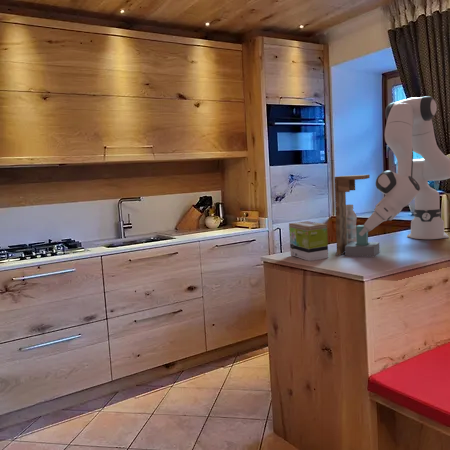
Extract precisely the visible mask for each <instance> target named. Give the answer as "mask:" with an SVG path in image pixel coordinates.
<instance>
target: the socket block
mask: <svg viewBox="0 0 450 450" xmlns="http://www.w3.org/2000/svg"><path fill="white" fill-rule="evenodd" d="M380 251H381V250H380V242H379V241H368V245H357V242H350V243H349V244H347V245H346V246H345V252H344V256H351V257H372V256H374V257H376V255H378V254H379V253H380Z"/></svg>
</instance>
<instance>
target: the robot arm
mask: <svg viewBox="0 0 450 450" xmlns="http://www.w3.org/2000/svg"><path fill="white" fill-rule="evenodd" d="M384 111H385V112H384V114H385V115H384V116H385V117H384V118H385V119H386V124H385V128H384V141H385V143H386V145H387V146H388V148H389V149H390V150H391V151H392V153H393V155H394V156H395V158H396V161H397V172H394V171H392V170H389V169H388V170H385V171H382V172H381V173H379V174H378V176H377V177H376V180H375V186H376V188H377V190H378V191H379V192H380V193H382V194H384V197H383V198H381V199H380V201H379V202H378V203H377V204H376V205H375V208H374V211H373V212H372V214H371V215H369V217H368V218H367V220H365V222H364V223H363V224H362V225H363V226H364V228H363V229H362V231H361V232H360V233H359V234H360V235H361V236H363V235H364V234H365V233H366V232H367V231H368V232H371V231H373V230H374V229H375V228H376V227H378V226H379V225H380V224H381V223H383V222H387V221H392V220H393V219H395V218H396V217H397V215H399V214H400V213H401V211H402V210H403V208H405V207H406V206H408V205H409V204H410V203H411V202H412V201H413V200H414V210H413V216H414V218H413V219H412V220H410V233H409V234H407V236H406V237H407V238H411V239H416V240H441V239H449V238H450V237H449V235H448V234H447V233H446V232H445V230H446V229H445V221H444V220H443V218H442V217H441V214H442V212H441V211H442V210H441V208H440V202H441V201H440V192H439V191H437V189H434V188H433V187H431V186H430V185H429V182H433V181H434V182H435V181H445V180H448V179H450V157H448V156H447V155H445V154H444V153H443V151H441V149H440V148H439V146H438V144H437V140H436V135H435V130H434V125H433V118H434V117H435V116H436V114H437V102H436V100H435V98H433V96H429V95H425V96H424V95H423V96H420V97H417V96H416V97H409V98H407V99H401V100H399V101H393V102H390V103H389V104H388V105H387V106H386V107H385V110H384ZM414 153H416V154H418V155H420V156H421V158H414ZM428 181H429V182H428Z"/></svg>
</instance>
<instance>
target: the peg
mask: <svg viewBox="0 0 450 450" xmlns="http://www.w3.org/2000/svg"><path fill="white" fill-rule="evenodd" d="M363 225H364V224H358V225H356V238H357V245H368V242H369V231H367V232H366V233H365V234H364V235H363V236H361V235H360V234H359V233H360V232H361V231H362V229H363V228H364V226H363Z"/></svg>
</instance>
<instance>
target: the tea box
mask: <svg viewBox="0 0 450 450" xmlns="http://www.w3.org/2000/svg"><path fill="white" fill-rule="evenodd" d="M288 227H289V228H288V229H289V231H288V232H289V246H290V247H289V248H290V249H289V250H290V256H291V257H296V258H299V259H302V260H305V261H308V262H311V261H313V262H314V261H319V260H325V259H328V258H329V244H328V242H329V241H328V240H329V239H328V223H321V222H316V221H311V220H310V221H309V220H305V221H299V222H298V221H297V222H291V223H288Z"/></svg>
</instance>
